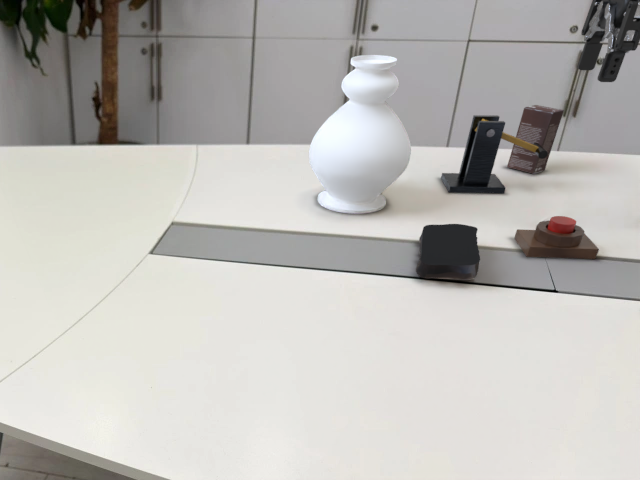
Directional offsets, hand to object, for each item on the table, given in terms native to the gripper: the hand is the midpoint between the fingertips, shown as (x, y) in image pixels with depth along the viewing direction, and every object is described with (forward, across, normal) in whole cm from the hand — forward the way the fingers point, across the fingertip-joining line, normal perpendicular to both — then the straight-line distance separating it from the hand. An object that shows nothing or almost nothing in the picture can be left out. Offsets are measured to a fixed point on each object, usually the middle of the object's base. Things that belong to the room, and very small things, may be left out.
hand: (594, 75), depth 100 cm
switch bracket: (+25, +22, +7) cm, 34 cm away
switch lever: (+17, +22, +2) cm, 28 cm away
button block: (+25, -7, 0) cm, 26 cm away
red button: (+22, -7, 0) cm, 23 cm away
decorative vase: (+25, +11, +30) cm, 41 cm away
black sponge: (+25, -14, +18) cm, 34 cm away
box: (+25, +33, -6) cm, 42 cm away
